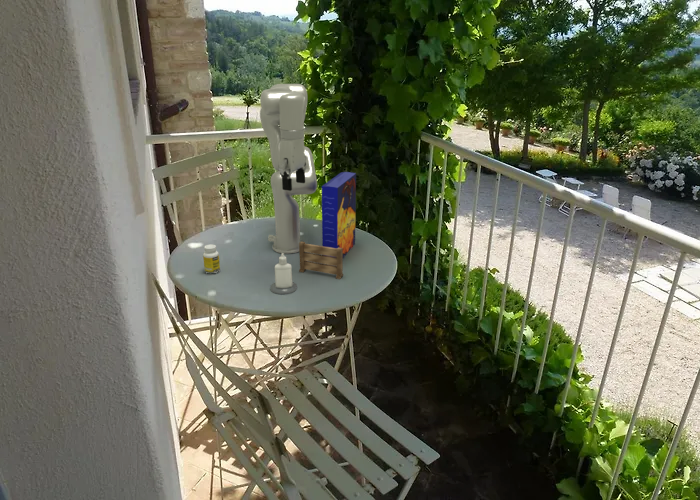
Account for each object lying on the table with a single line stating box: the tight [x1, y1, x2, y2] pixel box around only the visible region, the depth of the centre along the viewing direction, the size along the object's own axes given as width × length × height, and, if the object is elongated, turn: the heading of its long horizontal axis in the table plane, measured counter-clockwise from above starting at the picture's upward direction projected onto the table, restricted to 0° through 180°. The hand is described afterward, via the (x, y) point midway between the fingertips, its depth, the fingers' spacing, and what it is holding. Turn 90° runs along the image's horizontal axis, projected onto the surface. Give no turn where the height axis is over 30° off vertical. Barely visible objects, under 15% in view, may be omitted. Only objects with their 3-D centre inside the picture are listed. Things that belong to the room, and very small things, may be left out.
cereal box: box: [321, 171, 357, 259], centre depth 191 cm, size 22×6×30 cm, turn 162°
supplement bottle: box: [202, 244, 221, 274], centre depth 179 cm, size 5×5×10 cm
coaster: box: [269, 281, 298, 295], centre depth 169 cm, size 9×9×1 cm
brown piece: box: [298, 240, 344, 280], centre depth 177 cm, size 16×3×11 cm, turn 69°
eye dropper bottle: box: [274, 253, 293, 288], centre depth 167 cm, size 4×6×12 cm
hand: (294, 186), depth 167 cm, fingers open, 9 cm apart
